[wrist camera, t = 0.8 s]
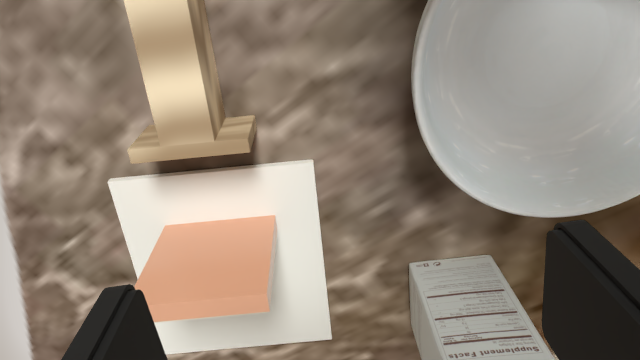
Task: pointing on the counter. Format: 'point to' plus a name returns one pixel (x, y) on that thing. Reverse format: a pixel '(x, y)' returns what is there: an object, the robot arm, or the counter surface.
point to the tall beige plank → (182, 85)
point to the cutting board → (232, 203)
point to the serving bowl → (532, 101)
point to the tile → (211, 269)
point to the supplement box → (469, 313)
